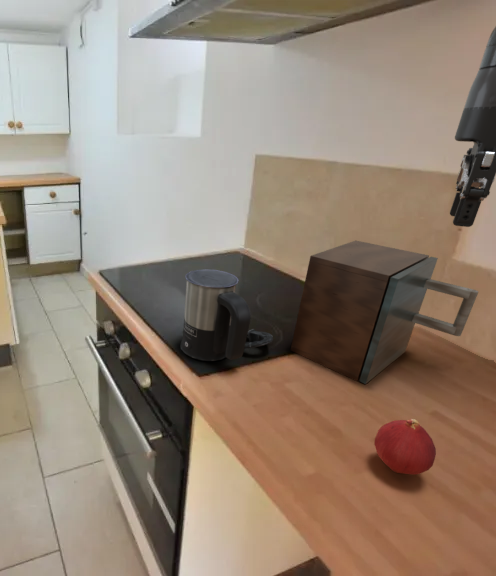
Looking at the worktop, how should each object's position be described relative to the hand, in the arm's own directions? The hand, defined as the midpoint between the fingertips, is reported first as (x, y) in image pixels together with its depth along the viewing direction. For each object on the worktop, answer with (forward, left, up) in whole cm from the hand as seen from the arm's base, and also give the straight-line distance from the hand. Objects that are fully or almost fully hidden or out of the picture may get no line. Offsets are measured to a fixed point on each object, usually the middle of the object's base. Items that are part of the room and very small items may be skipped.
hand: (459, 220), depth 59 cm
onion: (+29, +8, -26) cm, 40 cm away
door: (+5, +1, -26) cm, 26 cm away
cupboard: (+5, -9, -26) cm, 28 cm away
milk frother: (+23, -23, -26) cm, 42 cm away
